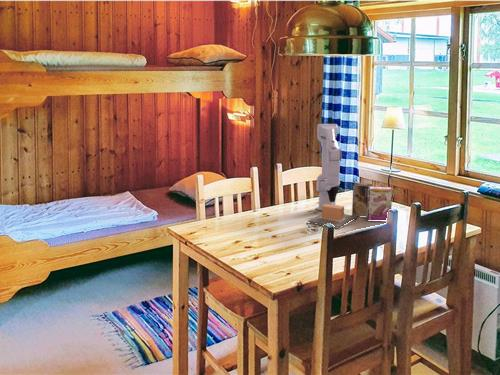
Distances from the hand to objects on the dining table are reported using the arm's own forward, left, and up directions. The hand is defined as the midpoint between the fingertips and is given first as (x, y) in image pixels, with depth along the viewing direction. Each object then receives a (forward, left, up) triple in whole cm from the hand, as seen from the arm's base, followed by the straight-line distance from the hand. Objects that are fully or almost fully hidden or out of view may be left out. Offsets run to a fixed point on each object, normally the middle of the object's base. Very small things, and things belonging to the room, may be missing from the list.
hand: (332, 201), depth 272 cm
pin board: (0, +1, -9) cm, 9 cm away
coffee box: (-16, +9, -10) cm, 21 cm away
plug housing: (0, +1, -8) cm, 8 cm away
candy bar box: (-13, +19, -10) cm, 25 cm away
